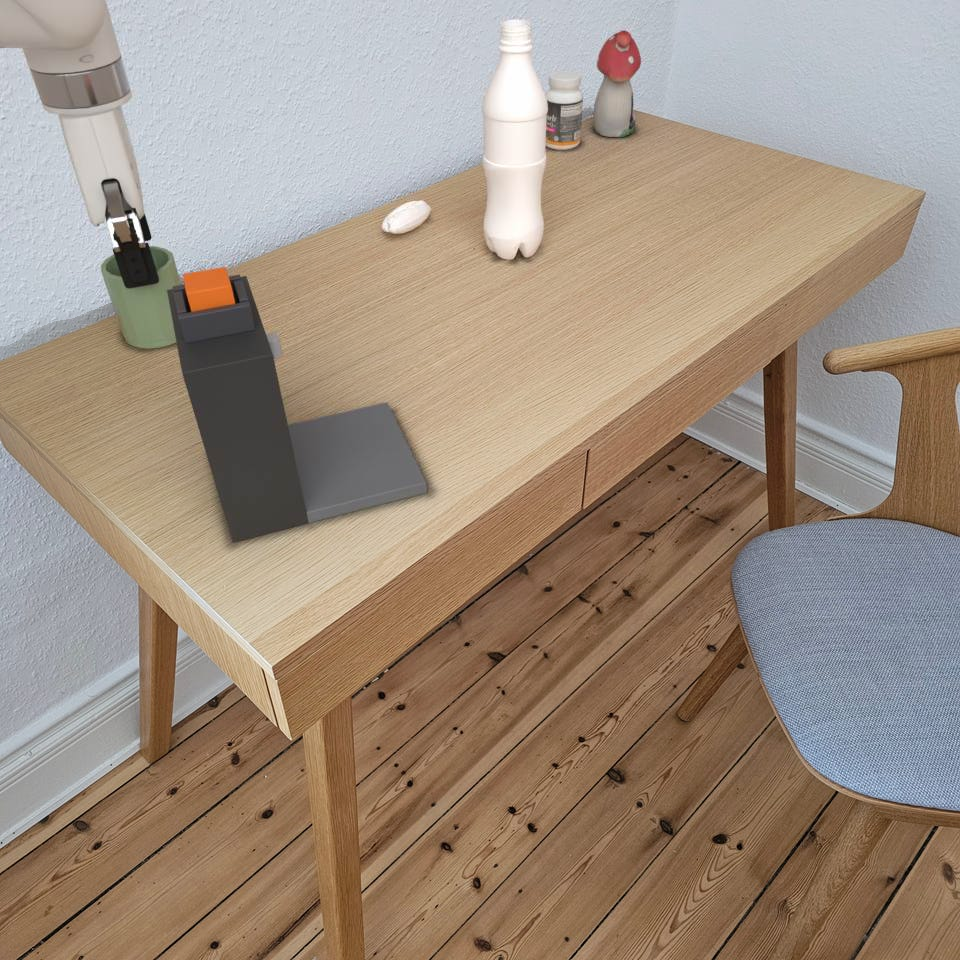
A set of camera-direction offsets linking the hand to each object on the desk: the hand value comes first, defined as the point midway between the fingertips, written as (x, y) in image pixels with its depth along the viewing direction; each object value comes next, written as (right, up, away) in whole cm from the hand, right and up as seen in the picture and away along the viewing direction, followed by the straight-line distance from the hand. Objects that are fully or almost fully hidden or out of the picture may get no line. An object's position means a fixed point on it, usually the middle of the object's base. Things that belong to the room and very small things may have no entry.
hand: (139, 262), depth 86 cm
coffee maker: (+20, -21, -13) cm, 32 cm away
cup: (0, -6, +5) cm, 8 cm away
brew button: (+15, -10, -25) cm, 31 cm away
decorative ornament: (+55, +33, +48) cm, 80 cm away
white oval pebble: (+25, +10, +23) cm, 36 cm away
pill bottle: (+47, +29, +44) cm, 70 cm away
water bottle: (+38, +6, +18) cm, 43 cm away
